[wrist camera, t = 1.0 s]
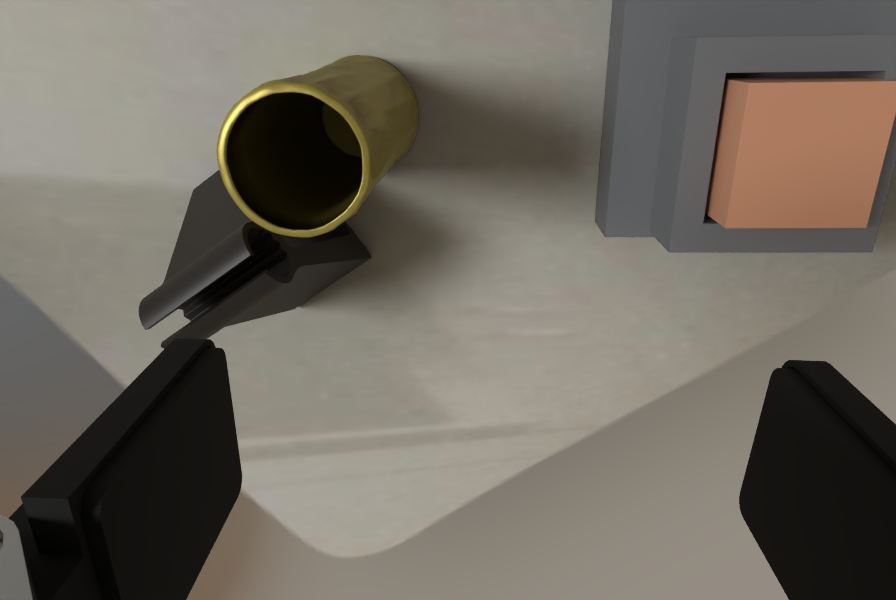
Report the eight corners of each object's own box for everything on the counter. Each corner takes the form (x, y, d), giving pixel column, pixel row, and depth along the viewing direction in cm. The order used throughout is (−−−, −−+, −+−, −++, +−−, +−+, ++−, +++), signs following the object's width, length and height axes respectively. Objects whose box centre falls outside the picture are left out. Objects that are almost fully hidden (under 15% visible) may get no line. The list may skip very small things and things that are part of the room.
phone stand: (372, 256, 37) (328, 348, 26) (295, 306, 38) (223, 414, 27) (275, 127, 34) (180, 169, 23) (196, 187, 36) (72, 253, 25)
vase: (440, 100, 33) (419, 140, 20) (380, 192, 35) (326, 283, 22) (343, 30, 32) (254, 25, 19) (287, 130, 34) (172, 186, 21)
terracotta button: (721, 78, 27) (749, 82, 25) (860, 76, 27) (904, 81, 24) (701, 210, 30) (725, 228, 27) (829, 210, 30) (866, 227, 27)
